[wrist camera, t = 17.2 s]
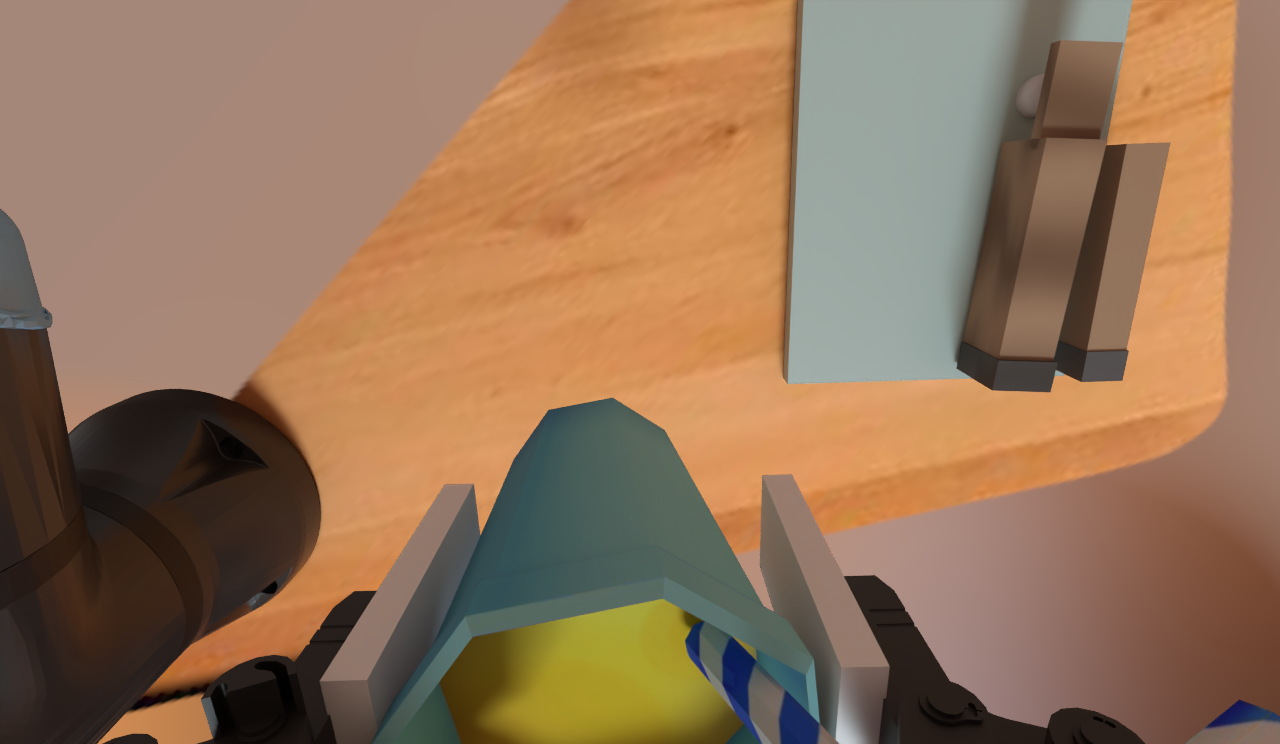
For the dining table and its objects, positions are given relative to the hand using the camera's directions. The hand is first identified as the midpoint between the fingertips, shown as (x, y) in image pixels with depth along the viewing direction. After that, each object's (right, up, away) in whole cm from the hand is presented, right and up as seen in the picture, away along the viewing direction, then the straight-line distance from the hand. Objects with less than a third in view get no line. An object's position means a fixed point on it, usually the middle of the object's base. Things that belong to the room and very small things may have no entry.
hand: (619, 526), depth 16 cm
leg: (+20, +12, +17) cm, 29 cm away
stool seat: (+17, +14, +18) cm, 28 cm away
